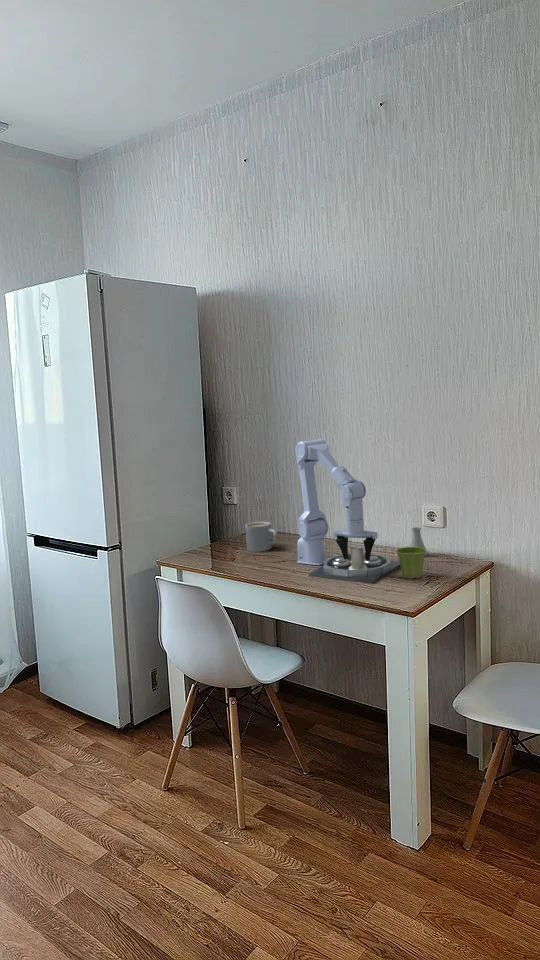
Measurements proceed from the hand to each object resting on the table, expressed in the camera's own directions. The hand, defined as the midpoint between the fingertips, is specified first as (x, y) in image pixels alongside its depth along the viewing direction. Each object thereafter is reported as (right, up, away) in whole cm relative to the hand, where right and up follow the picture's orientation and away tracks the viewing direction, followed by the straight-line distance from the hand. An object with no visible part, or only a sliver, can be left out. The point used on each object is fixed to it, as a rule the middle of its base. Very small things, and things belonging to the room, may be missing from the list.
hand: (356, 559), depth 225 cm
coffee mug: (-31, -2, +46) cm, 55 cm away
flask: (+24, -1, +20) cm, 32 cm away
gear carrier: (+1, -4, +7) cm, 8 cm away
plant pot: (+17, -5, -5) cm, 19 cm away
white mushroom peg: (+1, -4, +1) cm, 4 cm away
